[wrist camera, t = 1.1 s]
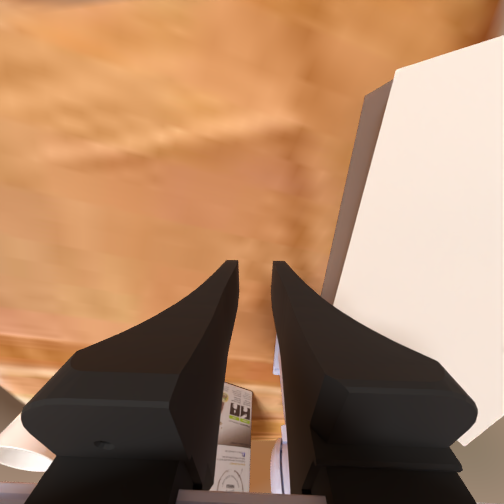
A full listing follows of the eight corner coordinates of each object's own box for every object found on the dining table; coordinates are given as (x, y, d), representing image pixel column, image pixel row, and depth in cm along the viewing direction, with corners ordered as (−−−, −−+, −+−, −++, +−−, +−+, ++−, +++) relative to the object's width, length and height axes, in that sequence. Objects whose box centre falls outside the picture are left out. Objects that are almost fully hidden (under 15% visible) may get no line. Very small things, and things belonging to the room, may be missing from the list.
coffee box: (219, 379, 31) (186, 572, 16) (253, 390, 32) (250, 579, 18) (200, 403, 35) (159, 578, 20) (231, 412, 36) (213, 583, 21)
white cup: (78, 387, 33) (11, 471, 24) (54, 359, 30) (-34, 446, 21) (120, 387, 33) (68, 472, 24) (101, 359, 29) (33, 447, 20)
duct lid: (468, 436, 12) (461, 454, 11) (330, 328, 19) (322, 334, 18) (1197, -166, 3) (1418, -279, 2) (402, 73, 10) (391, 66, 9)
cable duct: (401, 303, 22) (428, 330, 19) (319, 301, 23) (331, 328, 19) (502, 95, 14) (590, 72, 10) (364, 96, 14) (402, 73, 10)
